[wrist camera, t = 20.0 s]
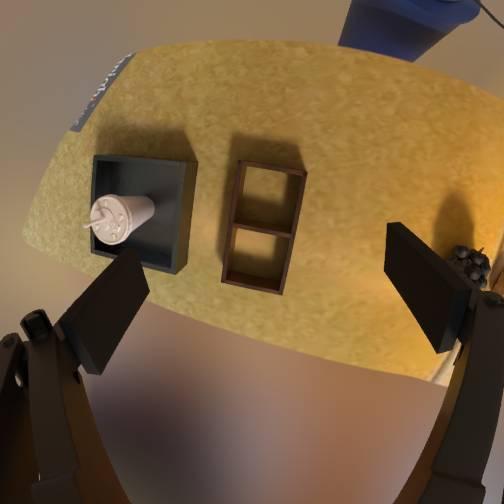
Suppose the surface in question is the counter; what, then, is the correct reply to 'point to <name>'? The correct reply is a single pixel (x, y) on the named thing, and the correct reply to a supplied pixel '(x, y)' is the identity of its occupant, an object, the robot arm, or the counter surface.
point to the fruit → (471, 264)
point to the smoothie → (118, 216)
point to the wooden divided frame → (237, 222)
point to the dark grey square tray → (165, 201)
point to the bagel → (499, 285)
